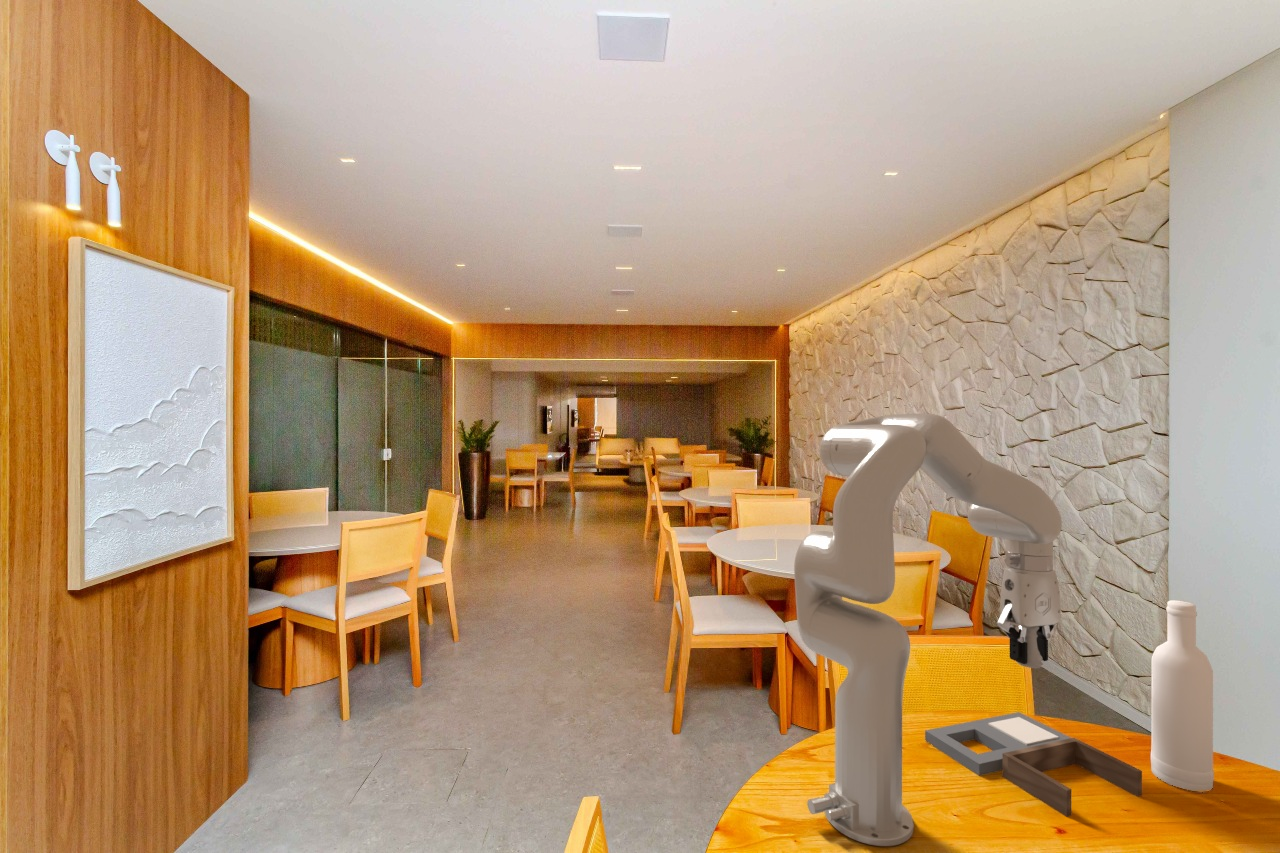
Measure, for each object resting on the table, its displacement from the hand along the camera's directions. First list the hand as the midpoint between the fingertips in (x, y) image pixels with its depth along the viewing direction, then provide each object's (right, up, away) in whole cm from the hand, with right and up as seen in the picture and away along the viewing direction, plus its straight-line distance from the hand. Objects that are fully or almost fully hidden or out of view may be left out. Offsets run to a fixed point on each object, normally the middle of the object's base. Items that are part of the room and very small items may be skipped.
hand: (1028, 658), depth 112 cm
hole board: (-5, -16, 0) cm, 17 cm away
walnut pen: (-1, -16, -13) cm, 21 cm away
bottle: (+19, -17, -10) cm, 28 cm away
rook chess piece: (0, -1, 0) cm, 1 cm away
